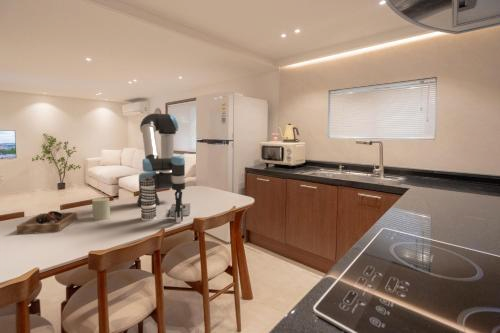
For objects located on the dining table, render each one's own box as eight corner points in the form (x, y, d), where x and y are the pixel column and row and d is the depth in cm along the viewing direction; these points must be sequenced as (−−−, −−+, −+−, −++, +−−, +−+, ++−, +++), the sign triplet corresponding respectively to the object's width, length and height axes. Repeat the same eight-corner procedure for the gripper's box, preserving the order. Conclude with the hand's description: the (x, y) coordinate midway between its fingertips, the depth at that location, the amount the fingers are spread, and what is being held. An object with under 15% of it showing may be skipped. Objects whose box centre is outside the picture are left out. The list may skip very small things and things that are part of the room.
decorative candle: (140, 216, 161) (139, 176, 158) (156, 215, 165) (155, 176, 162) (140, 221, 153) (138, 179, 150) (157, 220, 156) (155, 178, 153)
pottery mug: (54, 221, 153) (60, 209, 152) (61, 231, 149) (67, 219, 148) (29, 222, 143) (36, 209, 142) (36, 232, 138) (43, 219, 138)
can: (113, 216, 162) (112, 197, 160) (101, 221, 153) (99, 200, 152) (102, 214, 165) (101, 196, 163) (89, 219, 156) (87, 199, 155)
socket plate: (169, 216, 163) (169, 210, 163) (172, 209, 179) (172, 203, 178) (189, 215, 165) (189, 209, 165) (190, 208, 181) (190, 203, 181)
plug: (175, 221, 154) (174, 207, 153) (175, 219, 158) (175, 205, 157) (182, 221, 155) (182, 207, 154) (182, 218, 159) (182, 205, 158)
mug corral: (17, 233, 133) (16, 226, 132) (41, 220, 153) (40, 213, 153) (59, 231, 136) (59, 224, 136) (77, 218, 157) (76, 212, 156)
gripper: (184, 185, 144) (184, 225, 147) (185, 179, 165) (186, 214, 168) (169, 186, 142) (170, 226, 145) (173, 179, 163) (174, 214, 166)
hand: (179, 219), depth 156 cm, fingers open, 9 cm apart
